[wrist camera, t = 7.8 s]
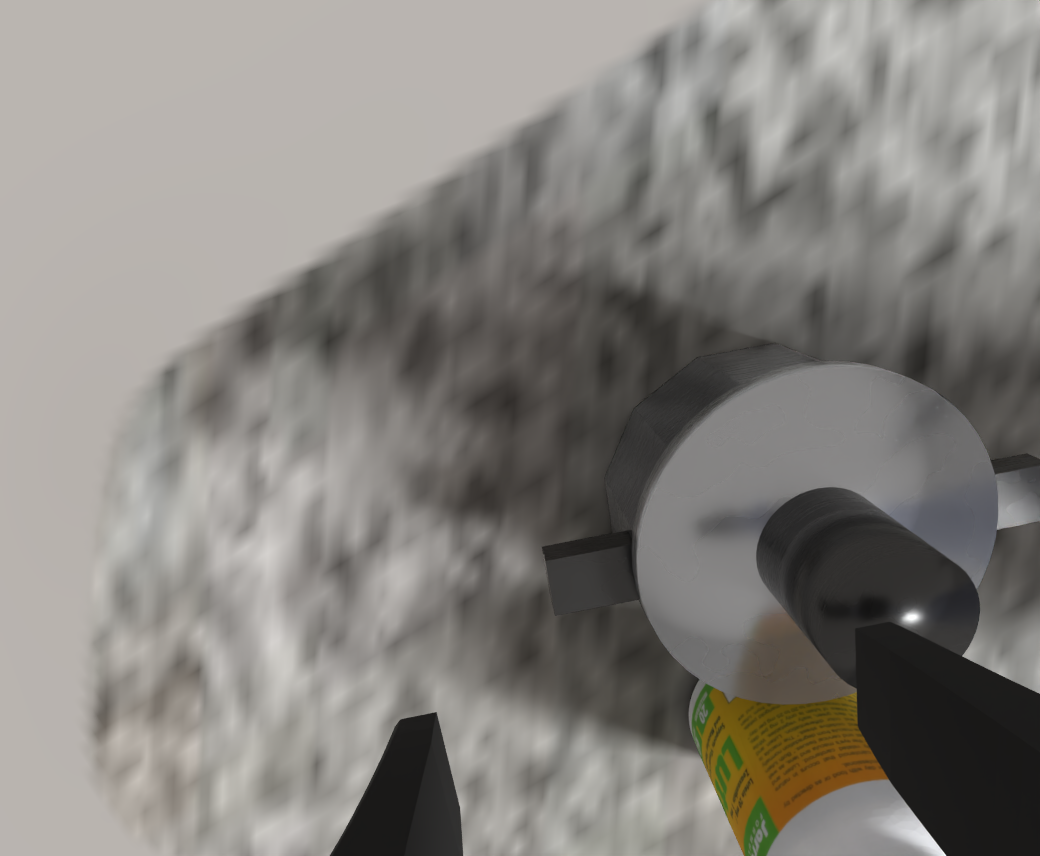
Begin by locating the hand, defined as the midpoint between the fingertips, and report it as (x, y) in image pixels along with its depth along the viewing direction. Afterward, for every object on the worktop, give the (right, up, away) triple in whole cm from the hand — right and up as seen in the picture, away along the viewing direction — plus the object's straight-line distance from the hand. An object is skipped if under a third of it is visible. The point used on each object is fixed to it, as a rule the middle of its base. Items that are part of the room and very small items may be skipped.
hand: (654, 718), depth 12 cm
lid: (+5, +2, +6) cm, 8 cm away
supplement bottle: (+6, -4, +13) cm, 15 cm away
